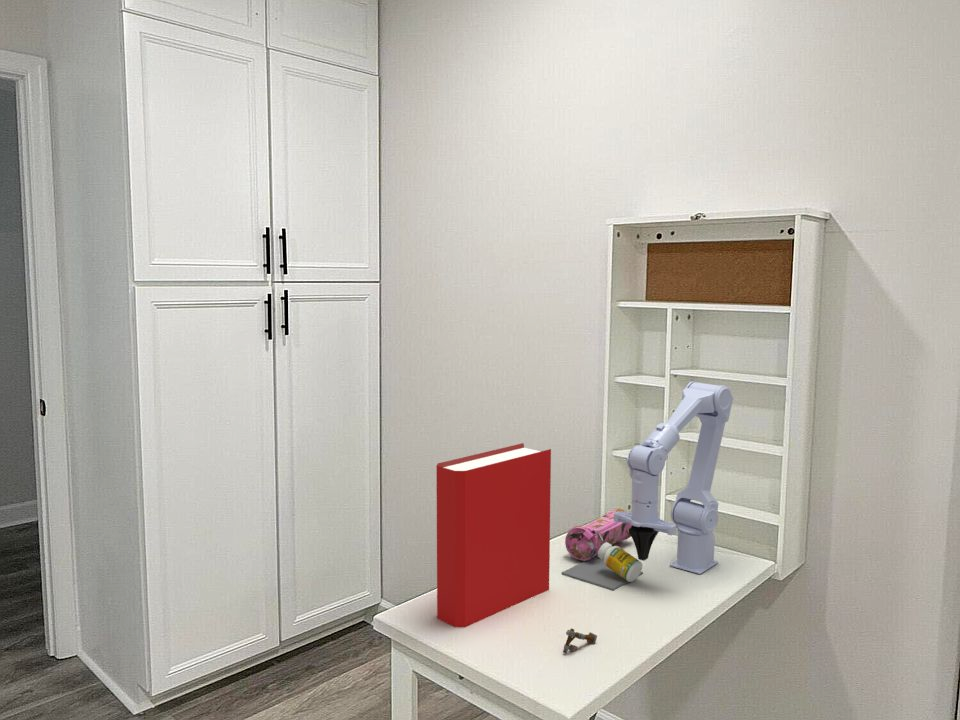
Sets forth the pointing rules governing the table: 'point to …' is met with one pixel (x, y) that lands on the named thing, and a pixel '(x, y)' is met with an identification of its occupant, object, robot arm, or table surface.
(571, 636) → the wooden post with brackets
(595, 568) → the slate mat
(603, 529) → the pencil case
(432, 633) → the table surface
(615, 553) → the supplement bottle
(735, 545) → the table surface
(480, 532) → the book
